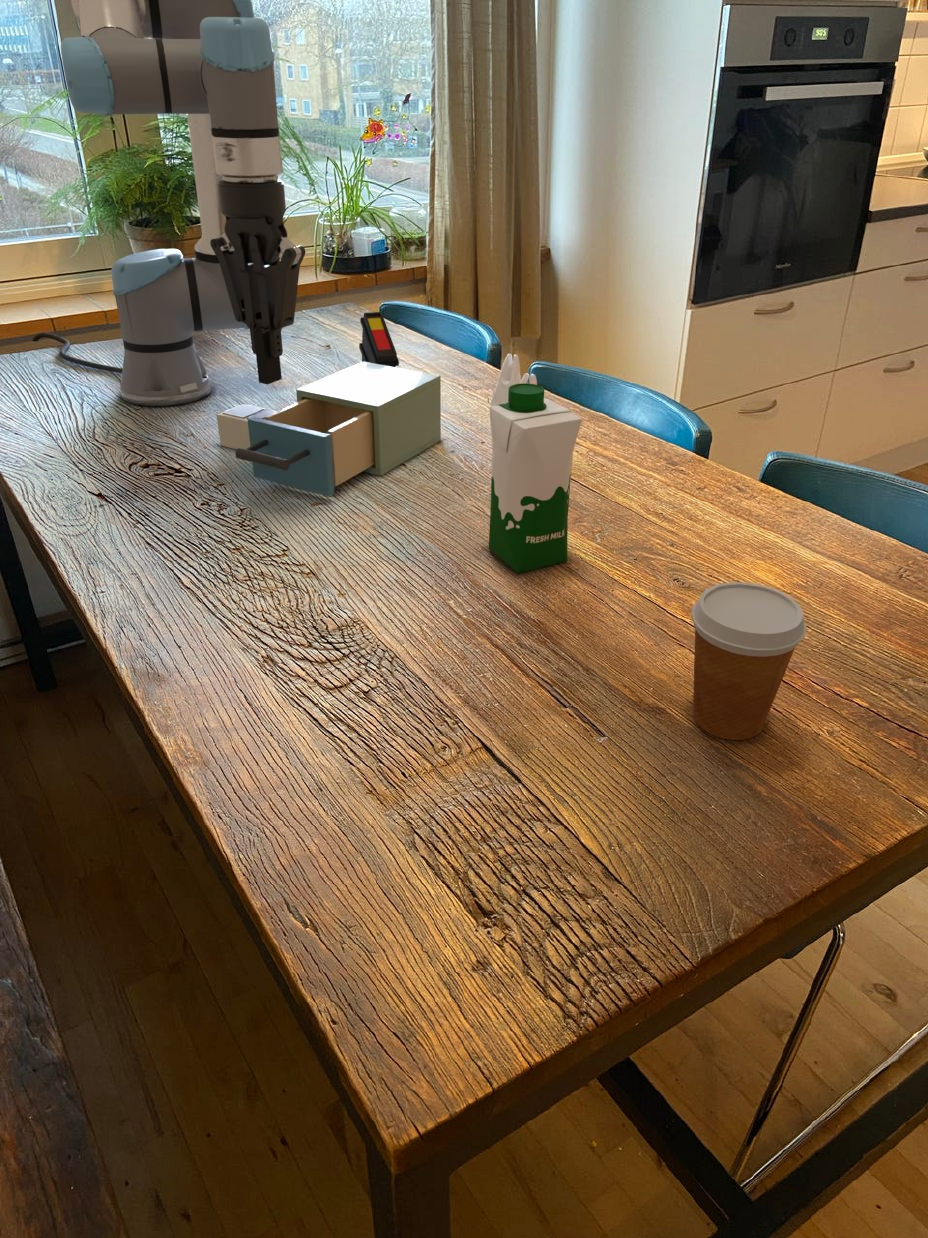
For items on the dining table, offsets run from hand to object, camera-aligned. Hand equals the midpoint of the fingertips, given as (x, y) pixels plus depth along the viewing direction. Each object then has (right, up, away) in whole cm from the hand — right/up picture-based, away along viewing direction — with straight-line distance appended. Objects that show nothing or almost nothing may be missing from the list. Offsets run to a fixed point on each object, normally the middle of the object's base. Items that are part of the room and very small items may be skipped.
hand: (270, 380), depth 117 cm
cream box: (-8, -4, +24) cm, 25 cm away
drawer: (+4, -10, +12) cm, 16 cm away
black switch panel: (+10, +6, +40) cm, 42 cm away
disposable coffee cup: (+49, -40, -33) cm, 72 cm away
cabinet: (+11, -4, +23) cm, 26 cm away
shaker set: (+33, +1, +33) cm, 47 cm away
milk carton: (+33, -23, -6) cm, 40 cm away
